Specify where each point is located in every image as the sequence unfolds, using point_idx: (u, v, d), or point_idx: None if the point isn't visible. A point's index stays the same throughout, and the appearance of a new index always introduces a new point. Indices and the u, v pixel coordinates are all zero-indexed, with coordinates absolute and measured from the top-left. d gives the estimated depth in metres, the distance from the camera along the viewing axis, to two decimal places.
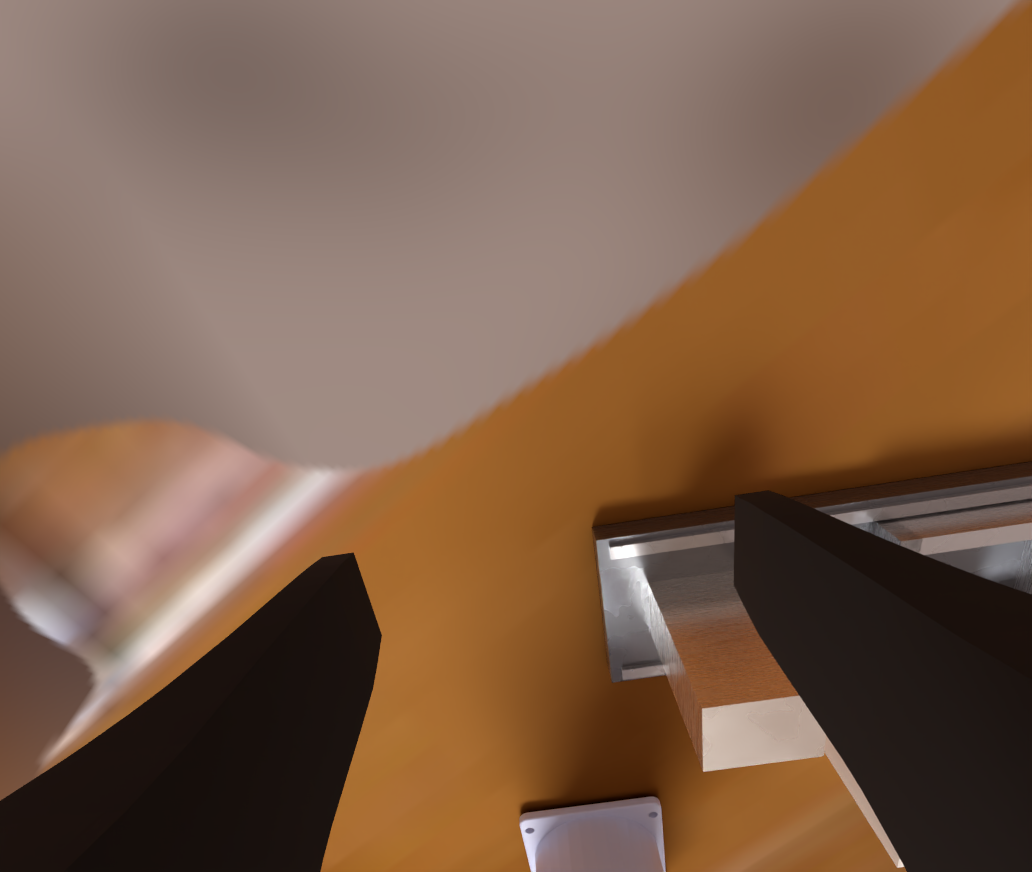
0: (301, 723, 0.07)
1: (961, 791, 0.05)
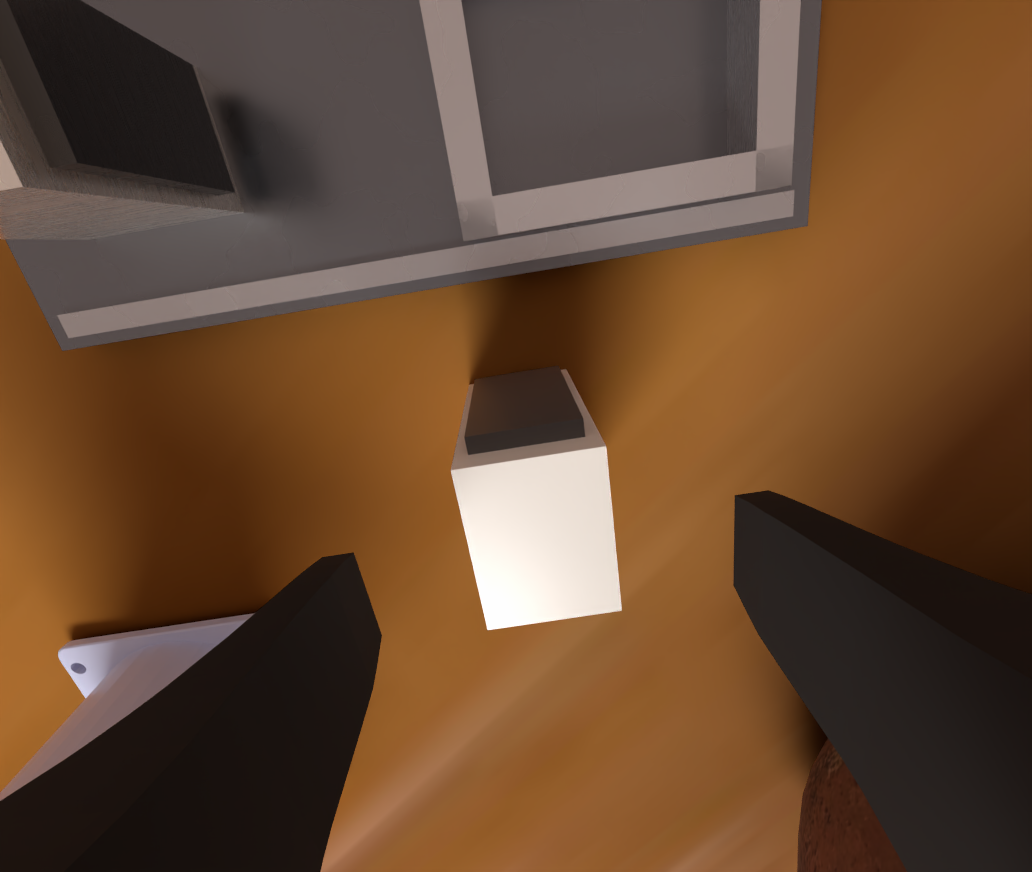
0: (301, 723, 0.07)
1: (961, 791, 0.05)
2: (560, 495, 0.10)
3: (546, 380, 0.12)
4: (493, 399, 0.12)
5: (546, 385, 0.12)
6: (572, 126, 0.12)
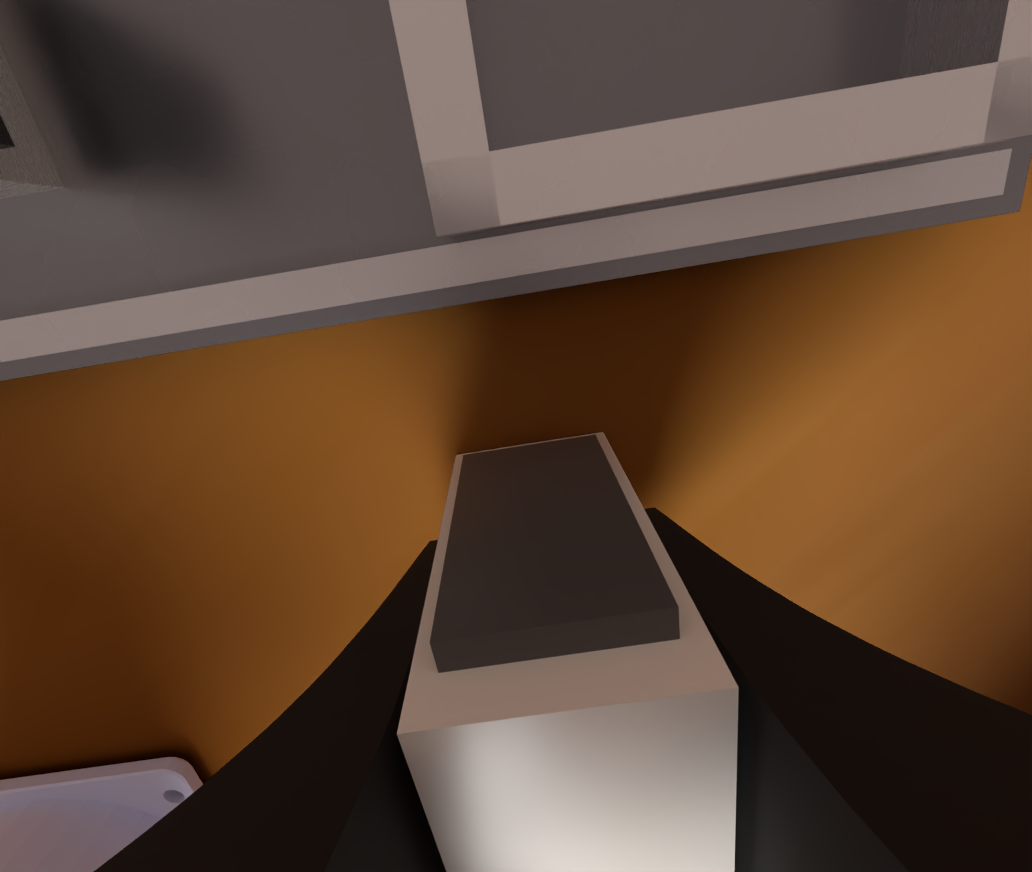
0: None
1: (753, 818, 0.05)
2: (632, 771, 0.05)
3: (581, 470, 0.07)
4: (492, 515, 0.07)
5: (583, 484, 0.07)
6: (632, 32, 0.06)
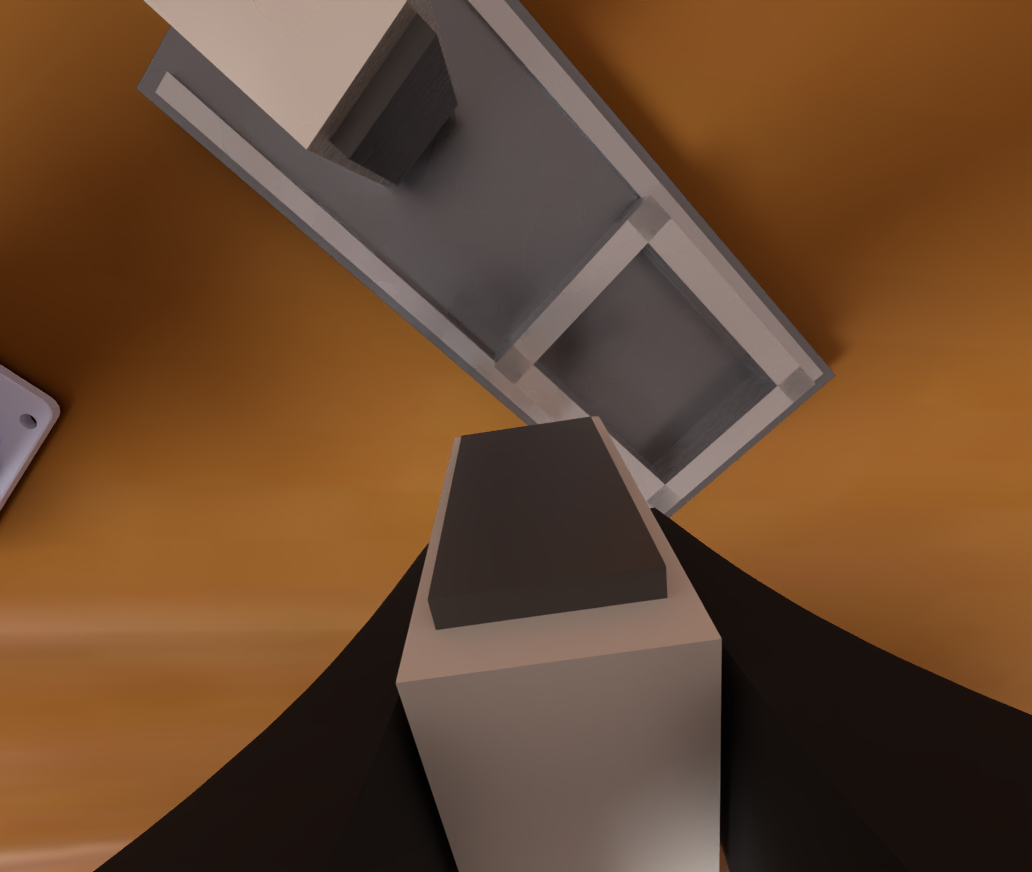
0: None
1: (753, 818, 0.05)
2: (620, 722, 0.05)
3: (575, 448, 0.08)
4: (489, 489, 0.07)
5: (577, 460, 0.07)
6: (606, 368, 0.15)
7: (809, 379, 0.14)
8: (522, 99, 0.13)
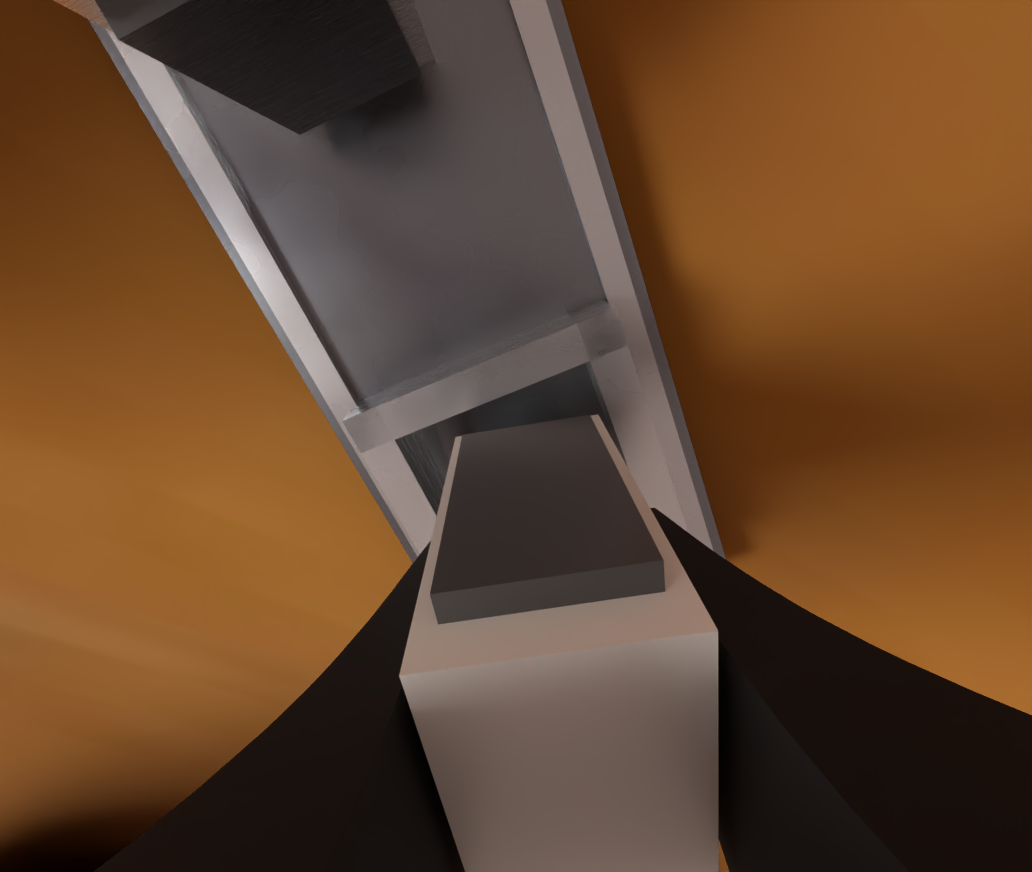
0: None
1: (753, 818, 0.05)
2: (619, 713, 0.05)
3: (575, 446, 0.08)
4: (489, 486, 0.07)
5: (576, 458, 0.07)
6: None
7: None
8: (514, 114, 0.09)
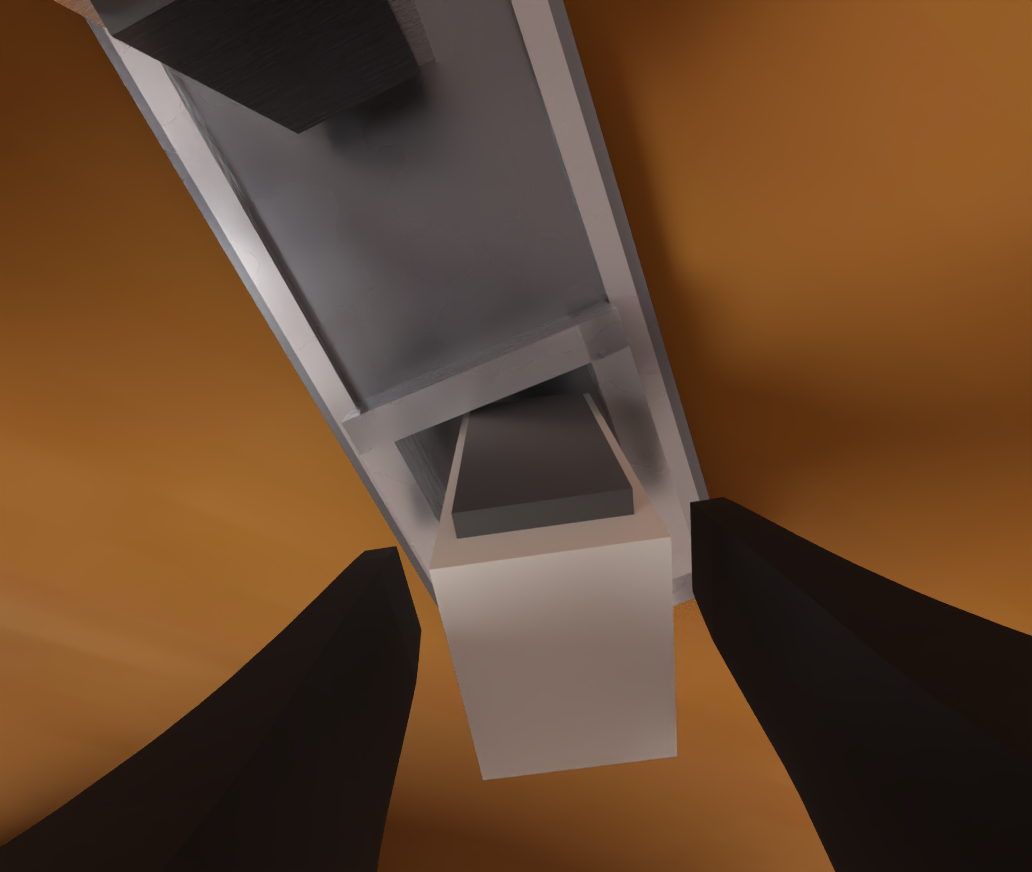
0: (358, 715, 0.07)
1: (878, 802, 0.05)
2: (596, 605, 0.06)
3: (567, 414, 0.09)
4: (496, 444, 0.08)
5: (568, 422, 0.09)
6: None
7: None
8: (515, 113, 0.09)
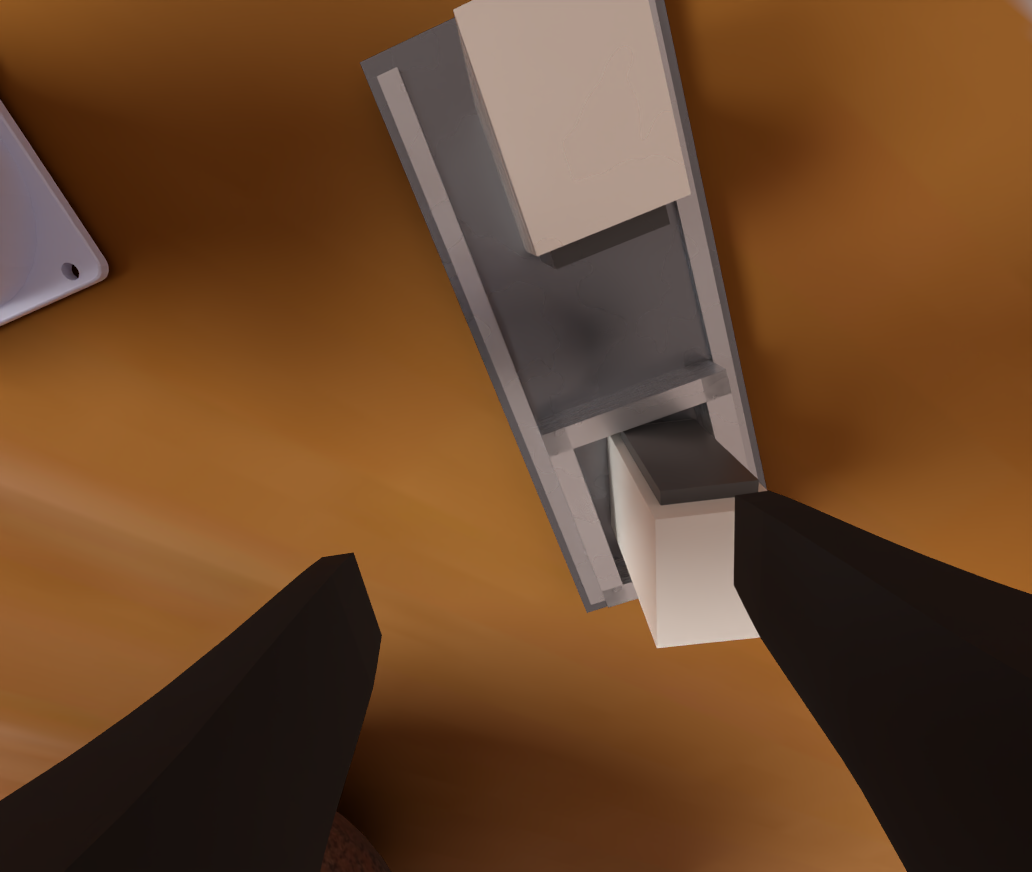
0: (301, 723, 0.07)
1: (961, 792, 0.05)
2: None
3: (694, 435, 0.15)
4: (658, 453, 0.14)
5: (698, 441, 0.14)
6: None
7: None
8: (665, 244, 0.15)
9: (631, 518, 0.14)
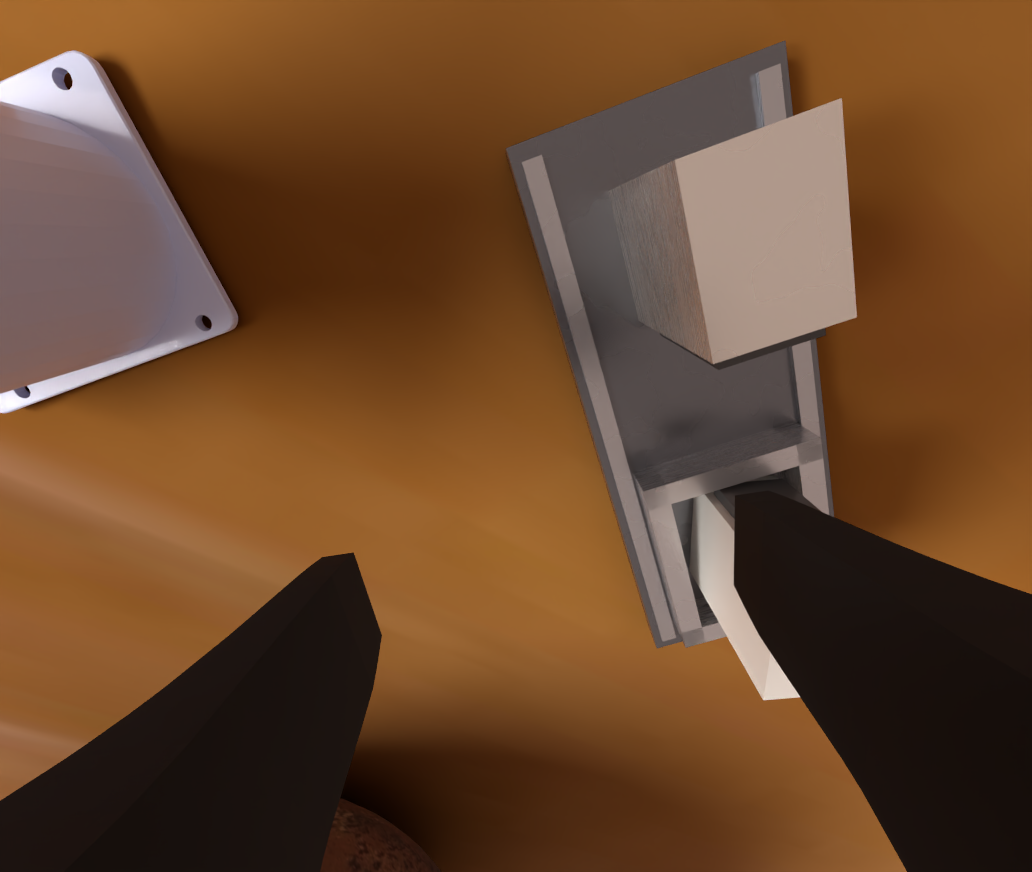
0: (301, 723, 0.07)
1: (961, 791, 0.05)
2: None
3: (790, 498, 0.16)
4: None
5: None
6: None
7: None
8: None
9: (732, 574, 0.15)
